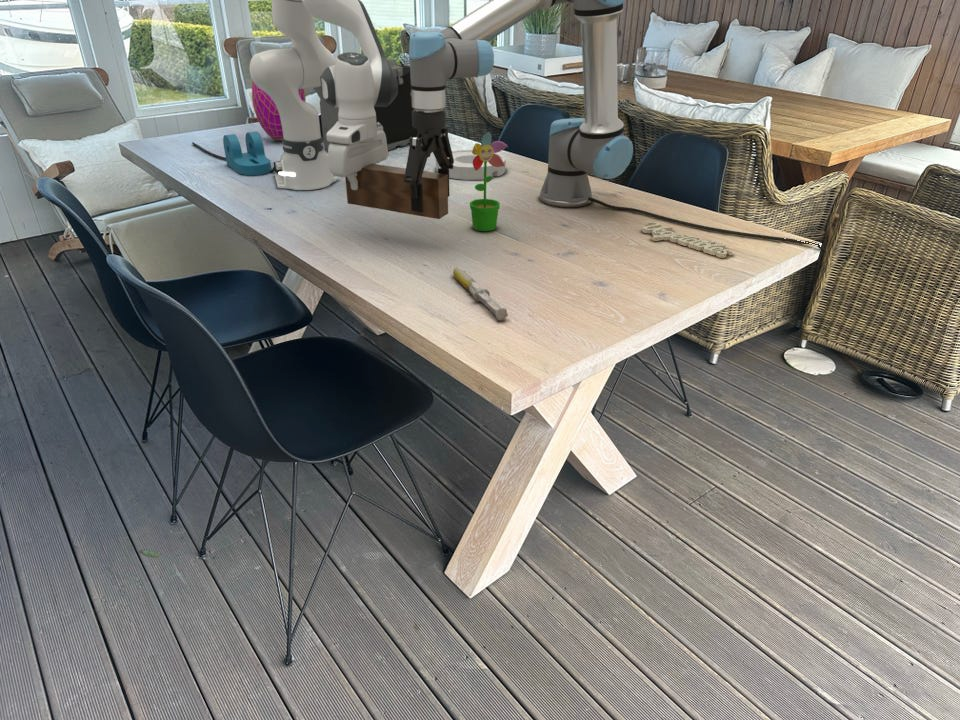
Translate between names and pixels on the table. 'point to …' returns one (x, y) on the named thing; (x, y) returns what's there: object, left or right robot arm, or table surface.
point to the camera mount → (246, 154)
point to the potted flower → (485, 208)
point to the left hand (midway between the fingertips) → (362, 186)
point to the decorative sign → (685, 240)
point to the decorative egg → (269, 112)
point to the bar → (398, 191)
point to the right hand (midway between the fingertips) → (431, 203)
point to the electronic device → (381, 112)
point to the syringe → (479, 293)
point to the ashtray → (471, 166)
